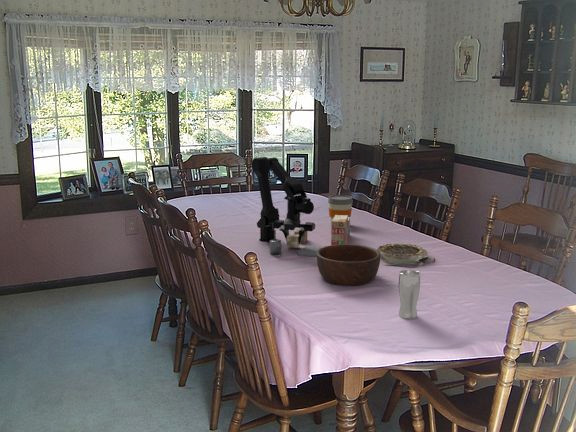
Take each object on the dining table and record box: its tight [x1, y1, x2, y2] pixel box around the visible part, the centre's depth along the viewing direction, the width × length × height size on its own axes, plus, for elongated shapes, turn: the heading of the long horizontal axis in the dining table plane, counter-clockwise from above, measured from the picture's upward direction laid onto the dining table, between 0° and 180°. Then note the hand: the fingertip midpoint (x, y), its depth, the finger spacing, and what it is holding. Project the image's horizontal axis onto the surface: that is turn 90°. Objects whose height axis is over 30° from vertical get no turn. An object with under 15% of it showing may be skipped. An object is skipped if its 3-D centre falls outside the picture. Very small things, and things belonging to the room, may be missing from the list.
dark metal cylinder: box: [269, 238, 282, 256], centre depth 275 cm, size 5×5×6 cm
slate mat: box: [297, 245, 322, 258], centre depth 278 cm, size 12×12×1 cm
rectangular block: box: [293, 229, 308, 244], centre depth 295 cm, size 5×5×5 cm
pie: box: [376, 243, 436, 268], centre depth 270 cm, size 28×27×5 cm
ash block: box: [286, 233, 301, 249], centre depth 284 cm, size 5×5×5 cm
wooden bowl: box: [315, 243, 382, 287], centre depth 244 cm, size 25×25×10 cm
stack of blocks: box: [330, 215, 351, 245], centre depth 295 cm, size 21×6×12 cm, turn 168°
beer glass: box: [398, 269, 421, 320], centre depth 205 cm, size 7×7×15 cm
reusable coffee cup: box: [327, 194, 353, 227], centre depth 323 cm, size 13×12×15 cm
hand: (293, 243), depth 284 cm, fingers closed on ash block, 5 cm apart
